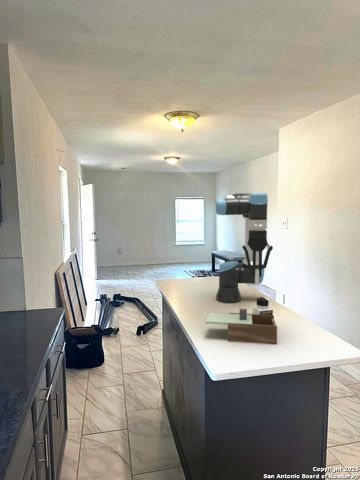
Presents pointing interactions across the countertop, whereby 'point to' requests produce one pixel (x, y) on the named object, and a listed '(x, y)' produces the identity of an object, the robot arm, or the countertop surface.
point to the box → (254, 330)
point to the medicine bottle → (262, 307)
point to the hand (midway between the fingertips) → (256, 284)
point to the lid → (229, 318)
